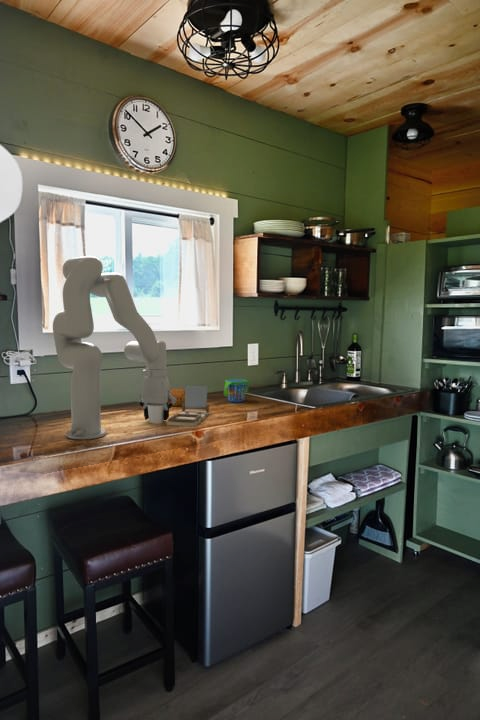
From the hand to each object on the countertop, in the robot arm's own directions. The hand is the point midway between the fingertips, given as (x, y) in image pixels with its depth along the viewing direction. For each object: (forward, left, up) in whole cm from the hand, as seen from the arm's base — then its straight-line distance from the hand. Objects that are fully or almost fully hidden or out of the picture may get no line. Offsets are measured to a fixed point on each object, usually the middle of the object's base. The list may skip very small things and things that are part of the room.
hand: (156, 418), depth 190 cm
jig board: (+7, -11, -1) cm, 13 cm away
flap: (+17, -11, +6) cm, 21 cm away
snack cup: (+49, -22, -1) cm, 54 cm away
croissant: (+37, +3, -2) cm, 37 cm away
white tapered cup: (0, 0, -1) cm, 1 cm away
